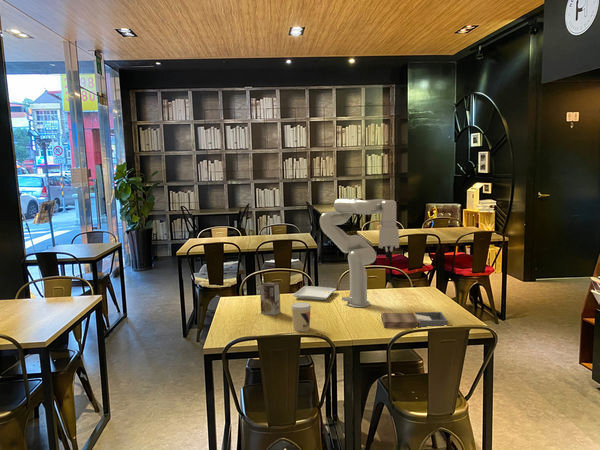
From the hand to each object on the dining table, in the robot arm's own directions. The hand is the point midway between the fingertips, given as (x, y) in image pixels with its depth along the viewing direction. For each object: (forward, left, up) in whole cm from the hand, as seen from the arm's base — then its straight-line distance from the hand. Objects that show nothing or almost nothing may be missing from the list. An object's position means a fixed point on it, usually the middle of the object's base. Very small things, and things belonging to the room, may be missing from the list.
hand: (388, 258), depth 250 cm
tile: (+15, -18, -28) cm, 36 cm away
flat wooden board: (+3, -17, -29) cm, 34 cm away
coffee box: (-63, 0, -29) cm, 69 cm away
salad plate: (-40, +33, -30) cm, 60 cm away
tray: (+18, -17, -29) cm, 38 cm away
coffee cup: (-45, -25, -29) cm, 59 cm away
